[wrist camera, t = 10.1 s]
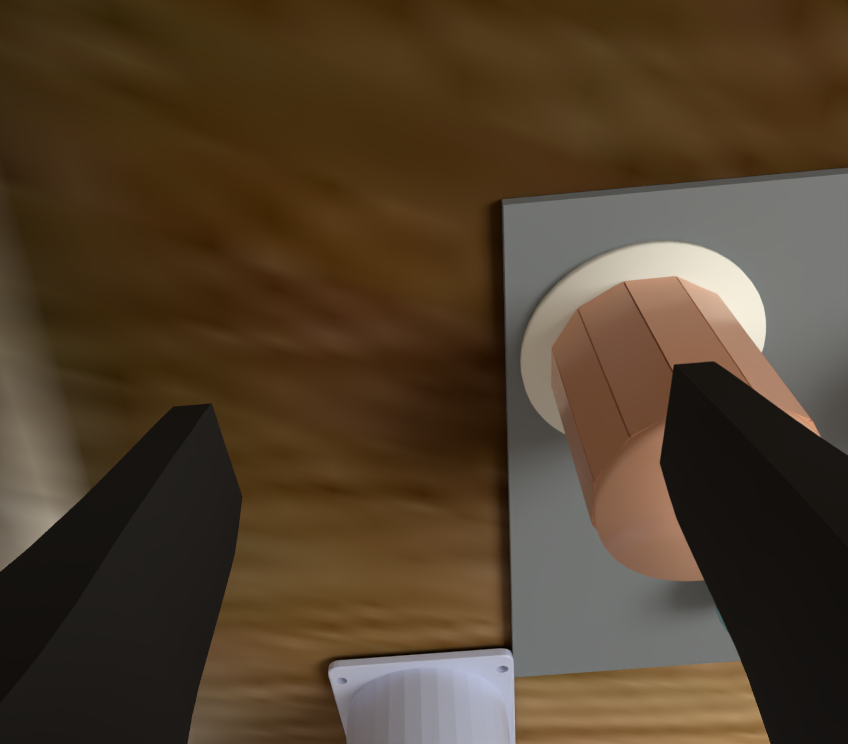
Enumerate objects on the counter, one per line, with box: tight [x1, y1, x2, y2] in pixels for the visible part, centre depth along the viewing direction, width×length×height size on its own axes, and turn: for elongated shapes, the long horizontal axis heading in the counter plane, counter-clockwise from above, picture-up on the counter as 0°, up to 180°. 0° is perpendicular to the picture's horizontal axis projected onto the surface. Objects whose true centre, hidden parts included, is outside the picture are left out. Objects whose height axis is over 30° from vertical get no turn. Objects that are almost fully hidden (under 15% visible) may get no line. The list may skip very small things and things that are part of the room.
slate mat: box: [502, 168, 848, 677], centre depth 25 cm, size 22×20×1 cm
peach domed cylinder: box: [551, 276, 821, 581], centre depth 19 cm, size 5×5×6 cm
